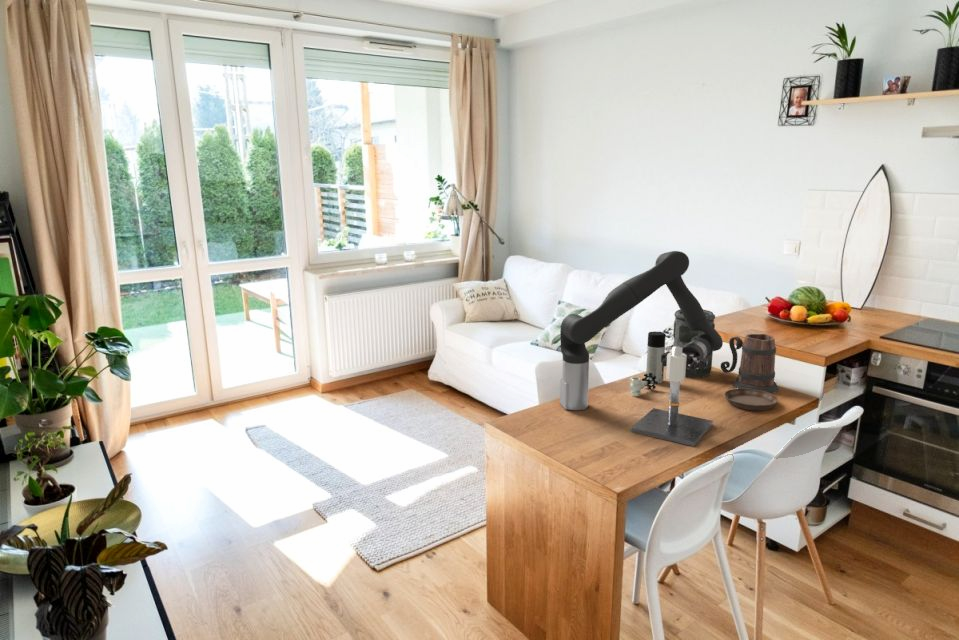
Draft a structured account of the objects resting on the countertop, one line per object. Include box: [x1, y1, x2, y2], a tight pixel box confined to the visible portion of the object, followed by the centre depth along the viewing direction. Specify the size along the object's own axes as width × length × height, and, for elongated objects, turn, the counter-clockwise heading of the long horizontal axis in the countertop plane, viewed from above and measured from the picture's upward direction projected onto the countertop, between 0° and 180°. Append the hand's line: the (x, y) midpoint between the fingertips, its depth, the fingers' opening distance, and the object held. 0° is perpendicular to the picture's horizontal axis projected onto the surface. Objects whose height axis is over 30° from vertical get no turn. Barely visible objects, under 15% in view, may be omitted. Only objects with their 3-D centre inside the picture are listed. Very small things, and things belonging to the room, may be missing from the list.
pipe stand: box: [630, 345, 714, 447], centre depth 195 cm, size 20×20×28 cm
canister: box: [672, 309, 716, 378], centre depth 250 cm, size 16×16×28 cm
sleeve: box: [665, 351, 687, 382], centre depth 193 cm, size 5×5×8 cm
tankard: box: [720, 333, 780, 394], centre depth 237 cm, size 24×17×20 cm
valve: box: [629, 373, 658, 397], centre depth 230 cm, size 7×7×12 cm
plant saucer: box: [723, 388, 779, 411], centre depth 218 cm, size 18×18×3 cm
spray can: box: [645, 331, 666, 385], centre depth 241 cm, size 7×7×20 cm
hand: (677, 365), depth 194 cm, fingers open, 8 cm apart
